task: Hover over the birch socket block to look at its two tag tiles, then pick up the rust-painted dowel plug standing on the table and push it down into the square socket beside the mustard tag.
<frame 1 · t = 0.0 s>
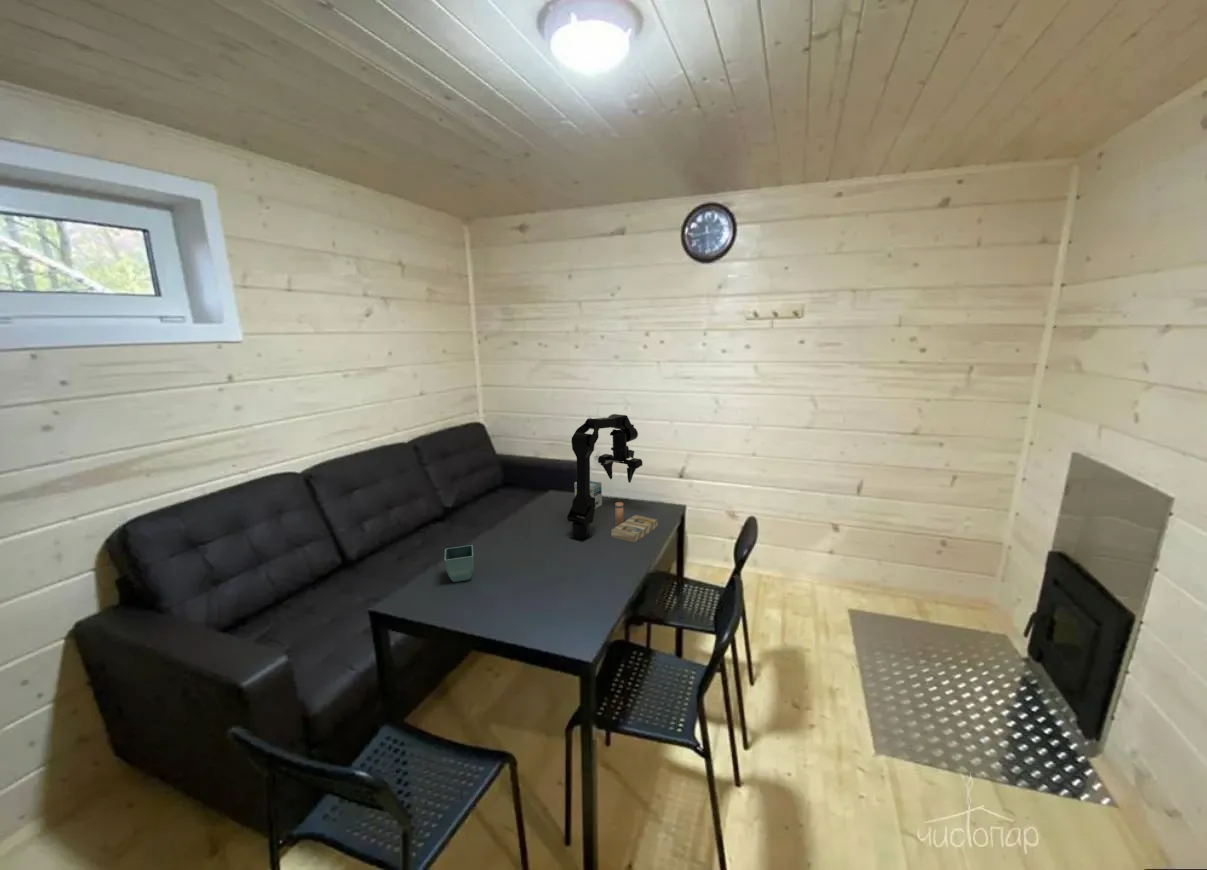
hand: (620, 480, 213), 15 cm above the table, fingers open, 9 cm apart
plug: (619, 524, 205), on the table
light bulb box: (588, 505, 228), on the table
flower pot: (461, 578, 164), on the table
socket block: (635, 531, 197), on the table
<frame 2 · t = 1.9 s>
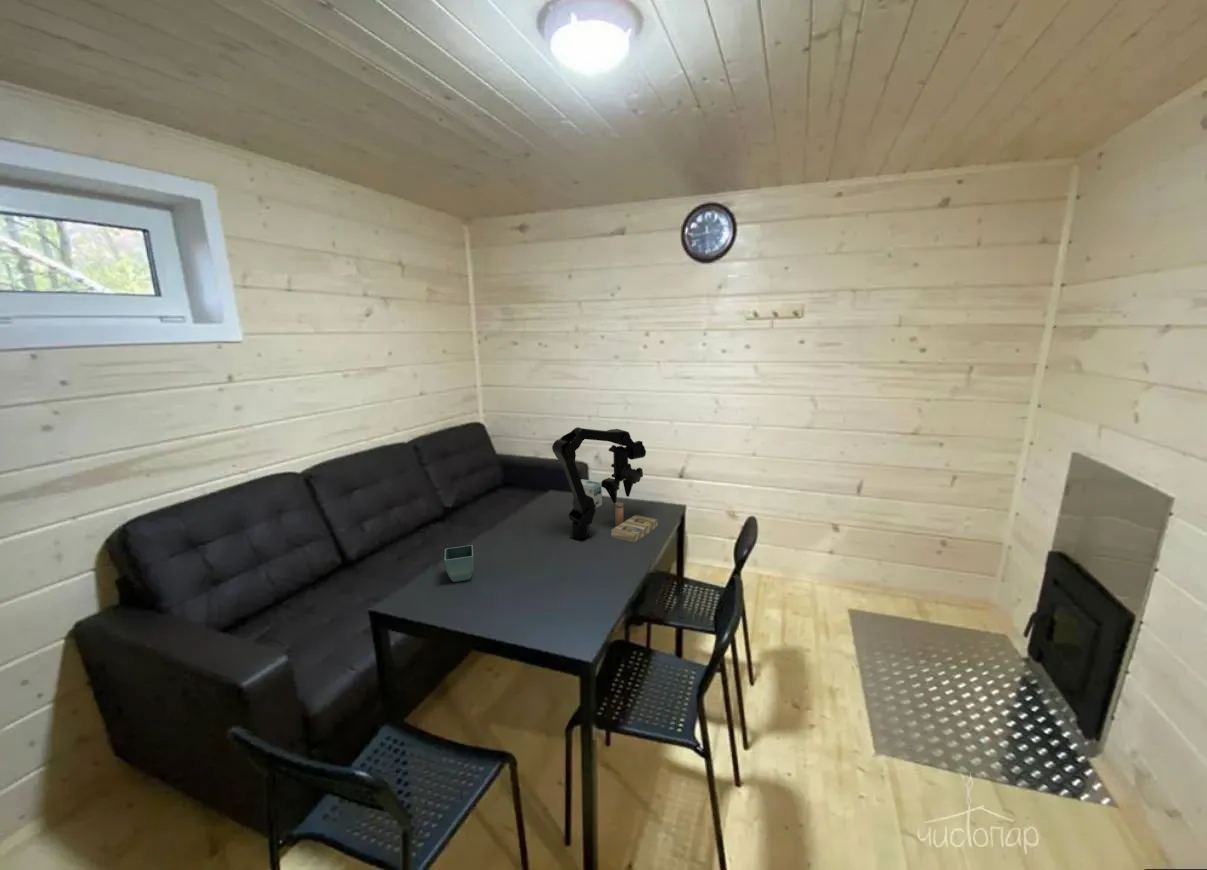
hand: (621, 499, 201), 11 cm above the table, fingers open, 9 cm apart
nothing on the table moved.
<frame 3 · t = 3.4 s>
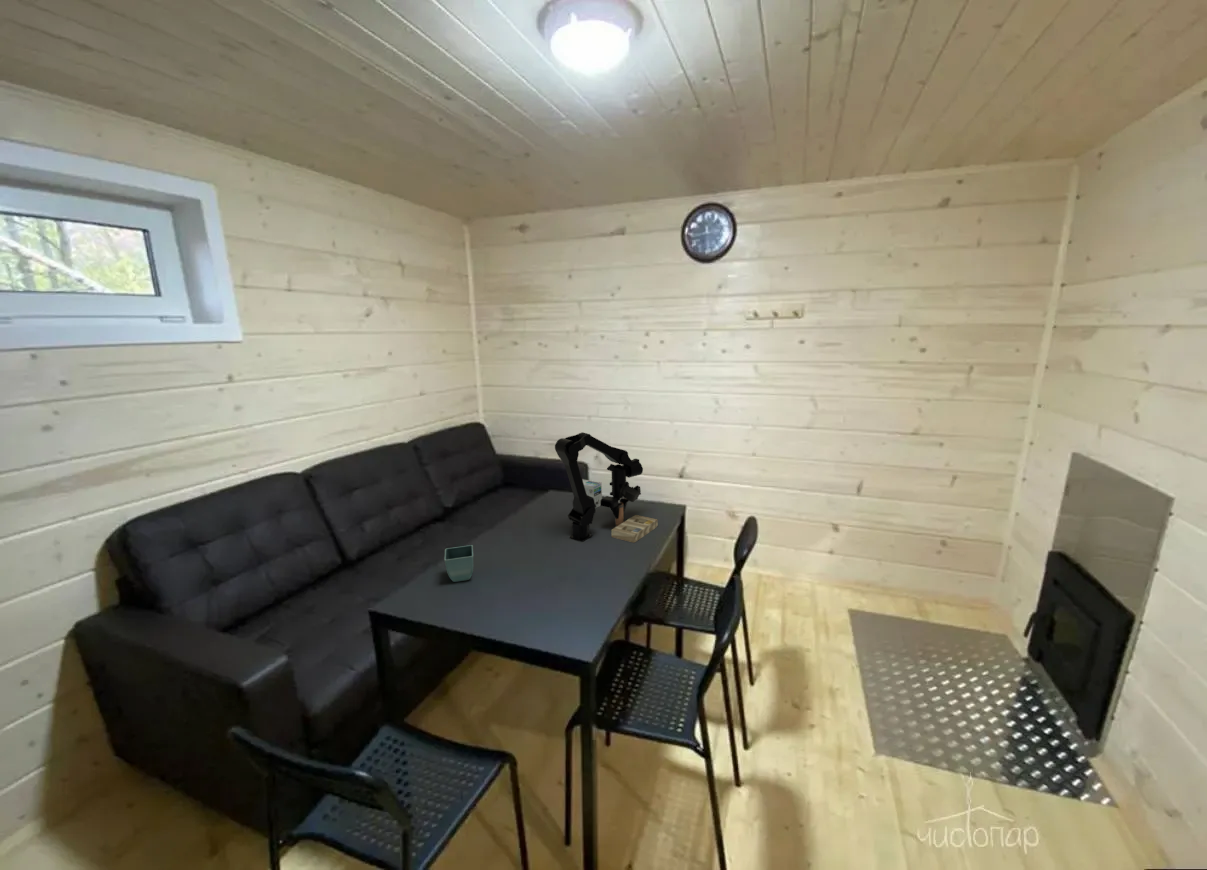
hand: (619, 517, 204), 3 cm above the table, fingers closed on plug, 3 cm apart
plug: (619, 524, 205), on the table, touching gripper
everything else where it was.
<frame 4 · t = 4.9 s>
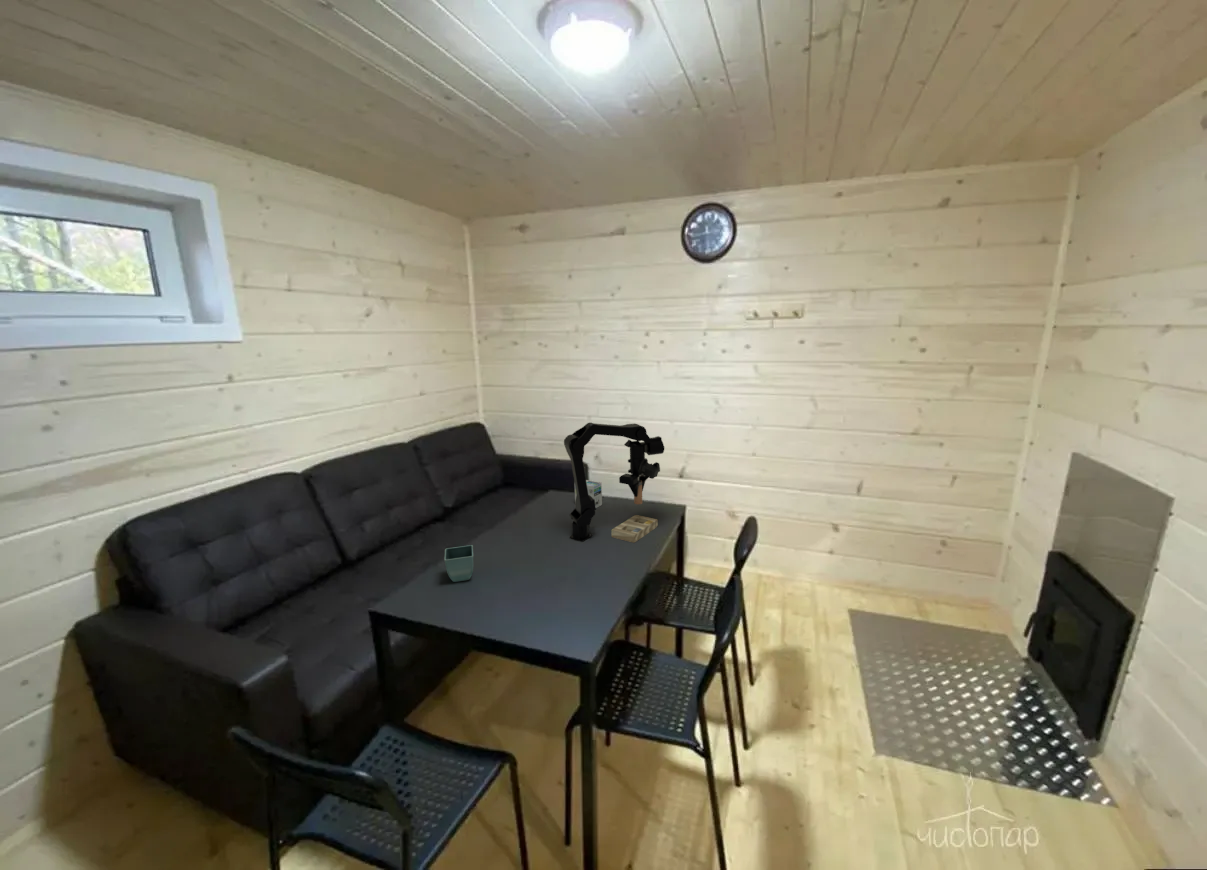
hand: (638, 495, 199), 13 cm above the table, fingers closed on plug, 3 cm apart
plug: (638, 503, 200), point 10 cm above the table, touching gripper
everything else where it was.
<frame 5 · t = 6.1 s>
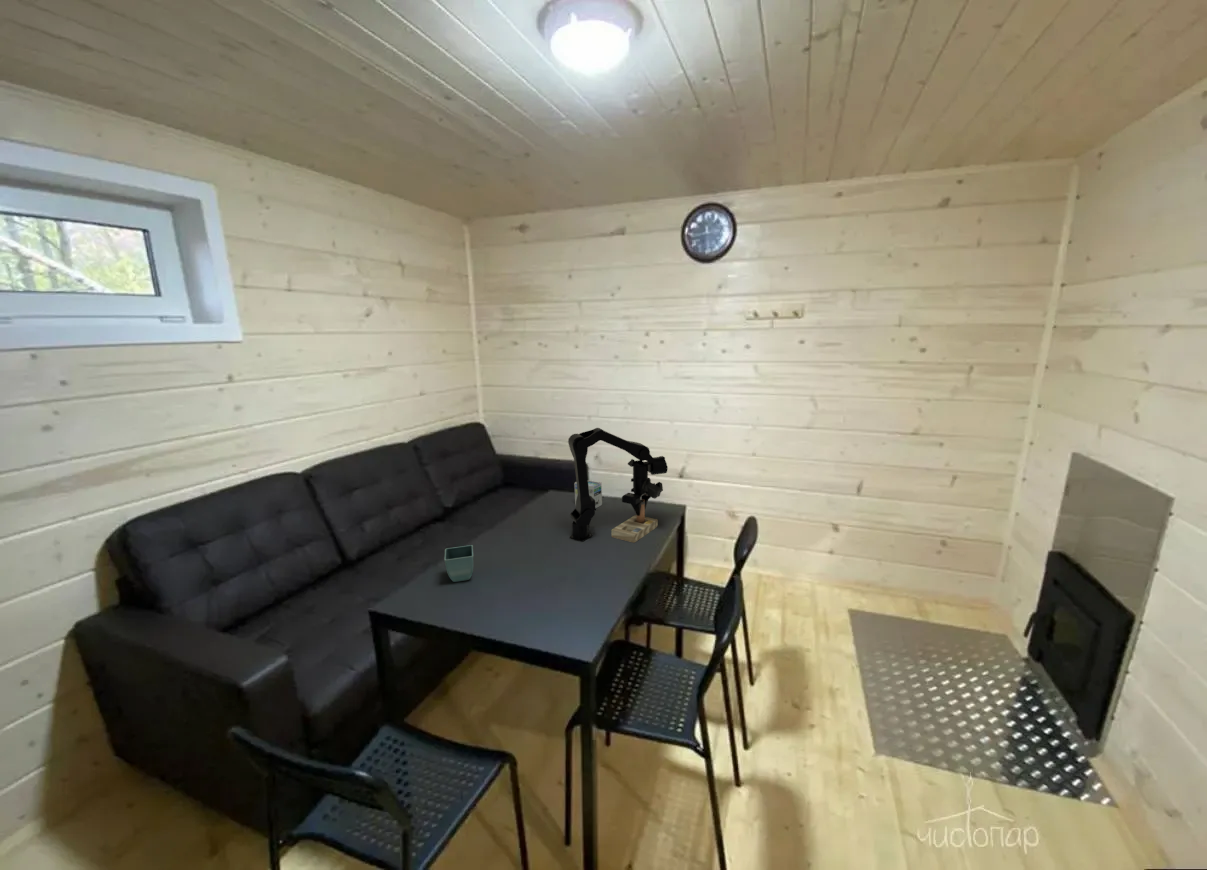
hand: (640, 514, 200), 6 cm above the table, fingers closed on plug, 3 cm apart
plug: (640, 521, 200), point 3 cm above the table, touching gripper
everything else where it was.
when the fingers open (4 cm above the table, at t = 6.7 s): plug stays where it is, resting in socket block.
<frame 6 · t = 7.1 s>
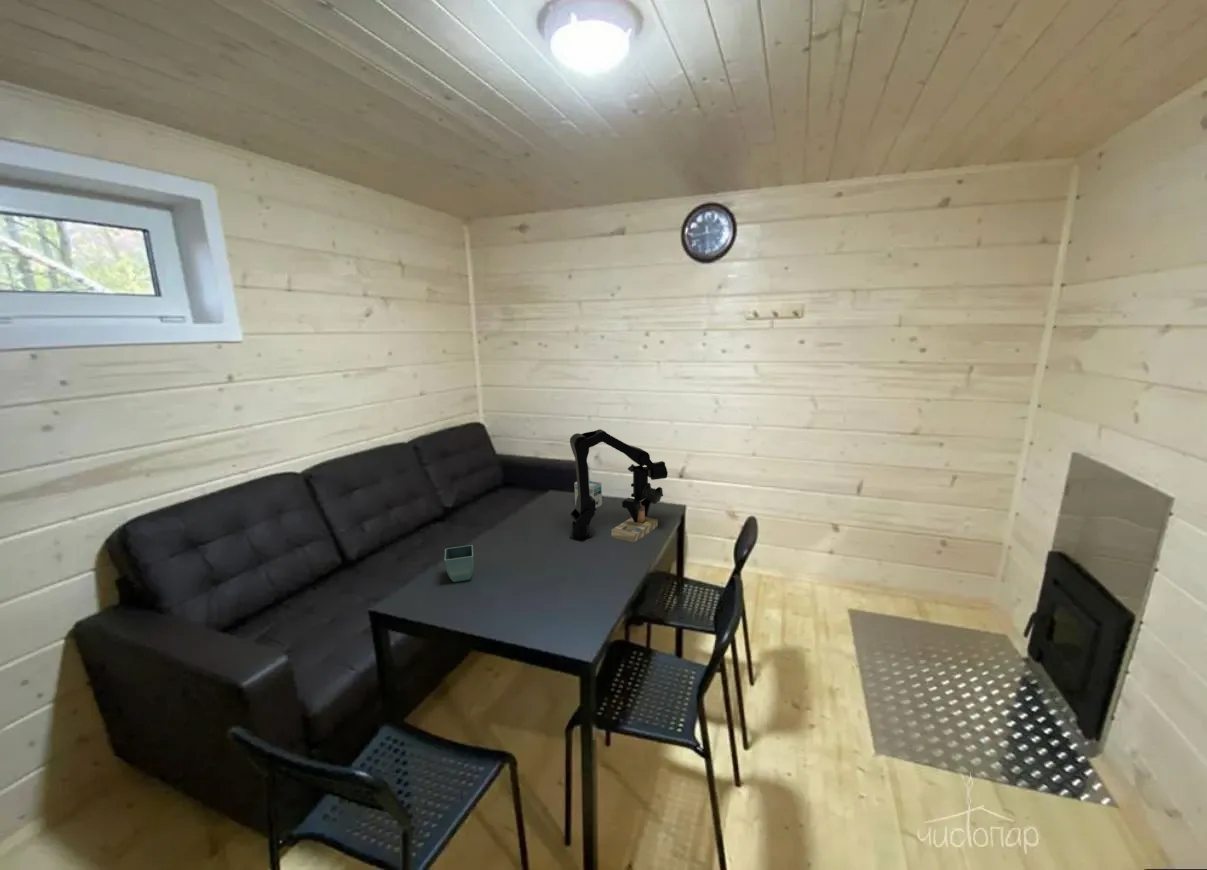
hand: (640, 519, 200), 4 cm above the table, fingers open, 7 cm apart
plug: (640, 527, 201), resting in socket block
everything else where it was.
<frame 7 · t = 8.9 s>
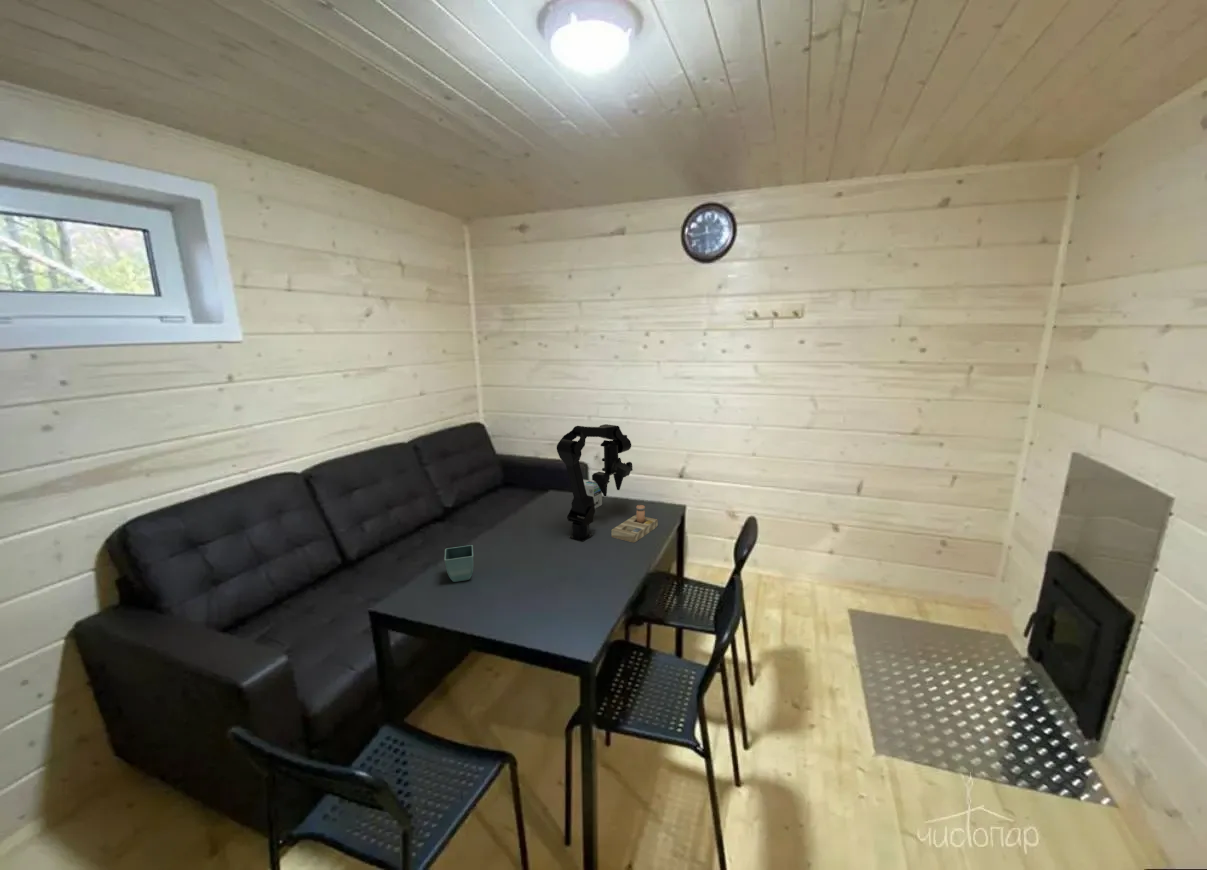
hand: (611, 493, 206), 12 cm above the table, fingers open, 9 cm apart
nothing on the table moved.
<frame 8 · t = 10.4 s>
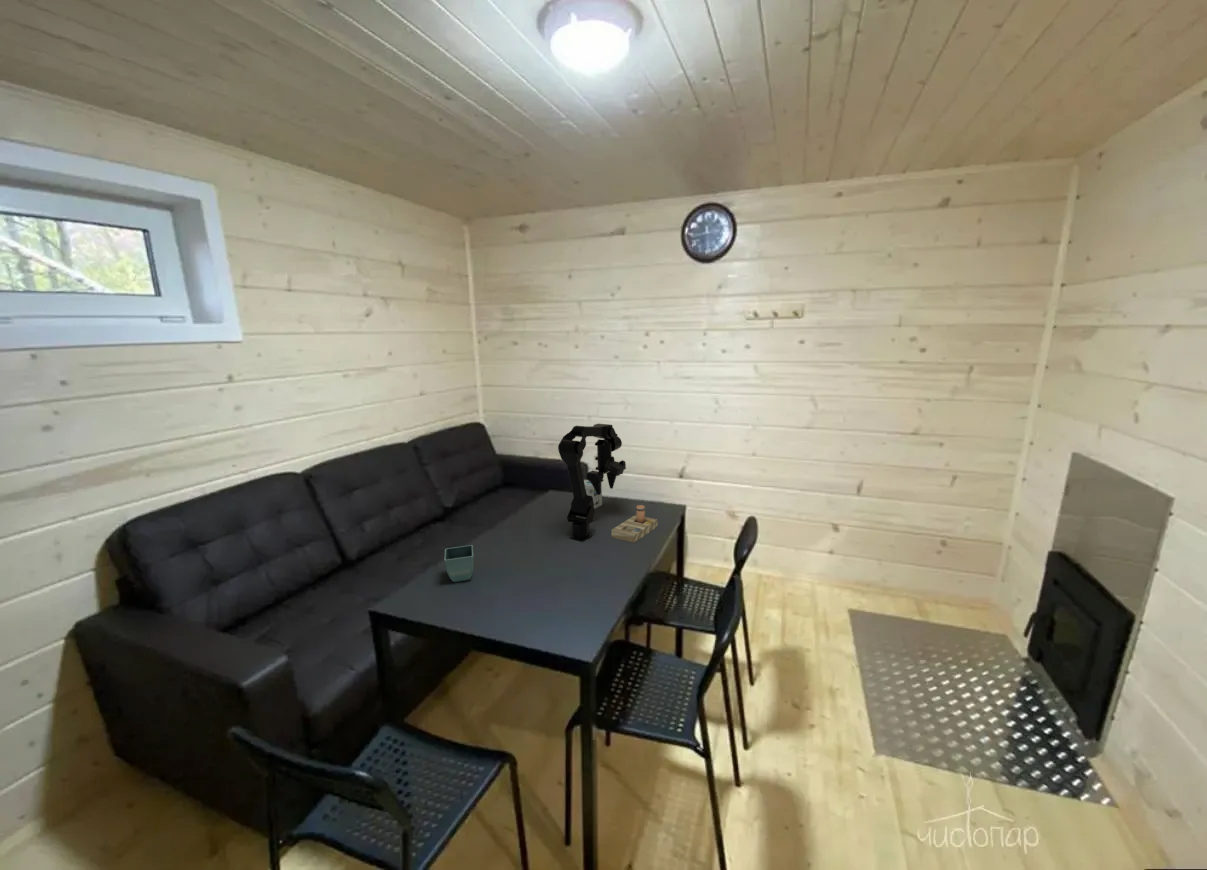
hand: (605, 491, 208), 12 cm above the table, fingers open, 9 cm apart
nothing on the table moved.
at the end: plug 0.0 cm from the target spot on the socket block, point 0.0 cm above the socket block's base; plug tilted 0°; the gripper is holding nothing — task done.
